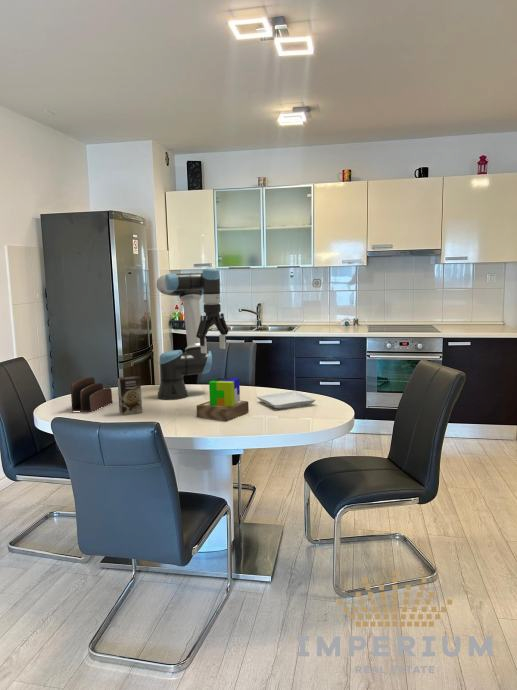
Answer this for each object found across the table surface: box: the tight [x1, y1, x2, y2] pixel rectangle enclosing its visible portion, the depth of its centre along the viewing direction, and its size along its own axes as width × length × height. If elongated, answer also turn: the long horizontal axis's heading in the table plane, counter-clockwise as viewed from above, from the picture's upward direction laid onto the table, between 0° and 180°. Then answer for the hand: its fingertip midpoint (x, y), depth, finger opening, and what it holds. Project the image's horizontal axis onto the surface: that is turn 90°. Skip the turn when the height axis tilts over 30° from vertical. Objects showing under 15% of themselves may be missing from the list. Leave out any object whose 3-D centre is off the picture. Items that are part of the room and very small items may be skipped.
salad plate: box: [256, 390, 316, 410], centre depth 238 cm, size 21×21×3 cm
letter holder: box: [70, 376, 113, 413], centre depth 241 cm, size 10×20×14 cm, turn 167°
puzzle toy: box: [208, 377, 241, 406], centre depth 219 cm, size 10×10×10 cm
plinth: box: [196, 400, 250, 422], centre depth 221 cm, size 16×16×5 cm
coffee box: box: [117, 375, 143, 416], centre depth 229 cm, size 9×6×16 cm
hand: (213, 350), depth 229 cm, fingers open, 13 cm apart
